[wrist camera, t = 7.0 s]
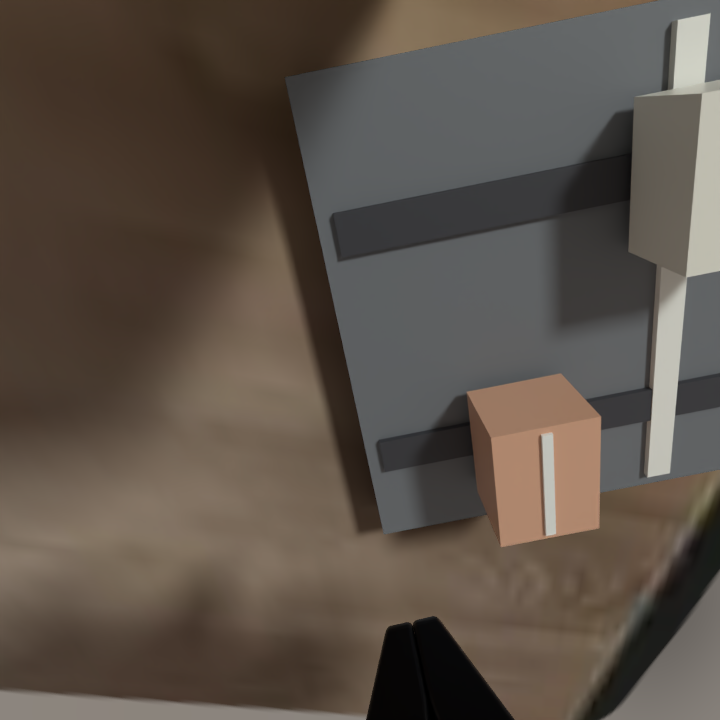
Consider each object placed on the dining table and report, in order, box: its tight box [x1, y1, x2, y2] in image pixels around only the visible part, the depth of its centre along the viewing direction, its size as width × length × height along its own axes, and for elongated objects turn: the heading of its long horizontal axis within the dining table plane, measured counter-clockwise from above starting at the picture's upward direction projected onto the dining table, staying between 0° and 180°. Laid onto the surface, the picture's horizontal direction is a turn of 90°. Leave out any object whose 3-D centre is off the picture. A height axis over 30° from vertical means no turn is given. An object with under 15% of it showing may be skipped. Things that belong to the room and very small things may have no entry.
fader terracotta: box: [467, 373, 601, 547], centre depth 16 cm, size 4×3×3 cm
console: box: [285, 0, 720, 534], centre depth 17 cm, size 15×14×2 cm
